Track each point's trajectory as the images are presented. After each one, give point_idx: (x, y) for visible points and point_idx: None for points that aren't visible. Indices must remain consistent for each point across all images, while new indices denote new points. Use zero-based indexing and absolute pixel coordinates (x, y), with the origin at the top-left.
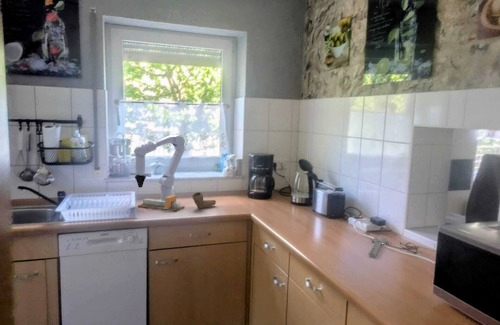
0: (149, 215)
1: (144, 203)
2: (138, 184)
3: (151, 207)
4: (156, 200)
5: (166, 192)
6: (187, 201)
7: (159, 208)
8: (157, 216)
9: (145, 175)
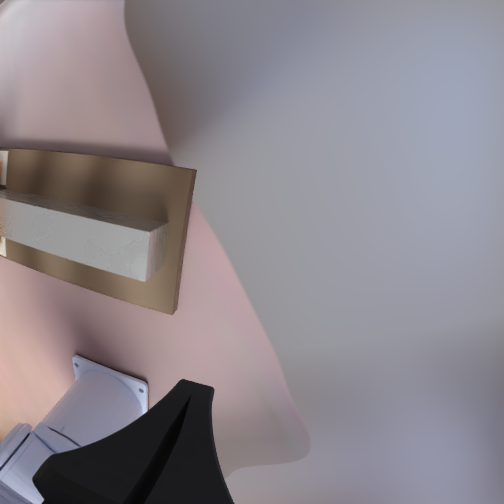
0: (52, 13)
1: (149, 220)
2: (196, 413)
3: (74, 153)
4: (38, 226)
5: (59, 406)
6: (23, 373)
7: (27, 150)
8: (19, 24)
9: (5, 500)
